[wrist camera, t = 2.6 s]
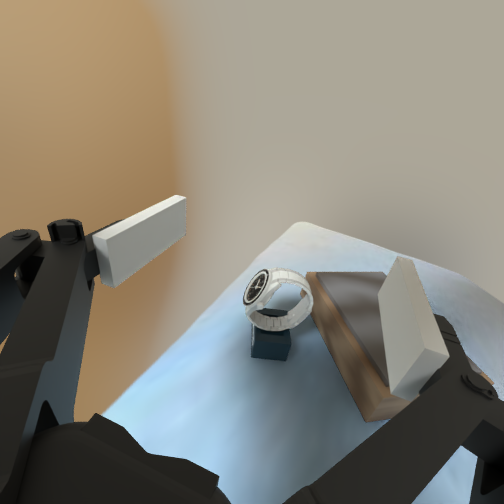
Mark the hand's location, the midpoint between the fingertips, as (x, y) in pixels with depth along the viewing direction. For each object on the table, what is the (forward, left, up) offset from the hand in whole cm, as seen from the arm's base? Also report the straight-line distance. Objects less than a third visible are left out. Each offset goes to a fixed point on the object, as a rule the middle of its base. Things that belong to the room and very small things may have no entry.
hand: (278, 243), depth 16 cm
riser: (+7, -20, -20) cm, 29 cm away
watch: (+8, -5, -20) cm, 22 cm away
